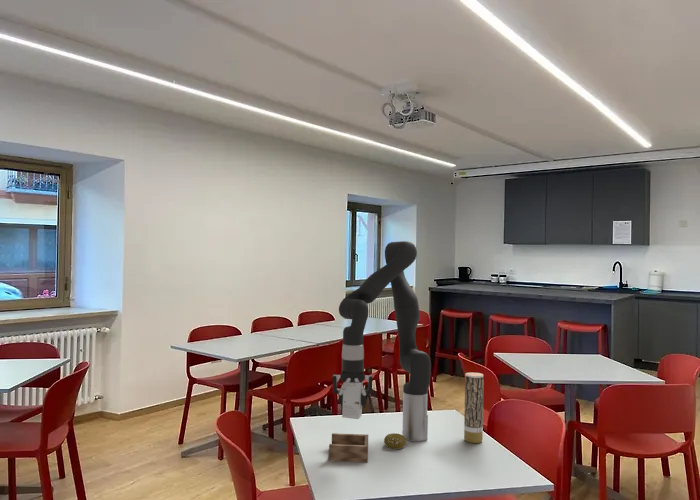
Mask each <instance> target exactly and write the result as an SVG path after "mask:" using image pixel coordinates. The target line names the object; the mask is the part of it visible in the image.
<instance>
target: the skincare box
mask: <svg viewBox="0 0 700 500" xmlns="http://www.w3.org/2000/svg"><path fill="white" fill-rule="evenodd" d="M344 383H345V382H342V385H344ZM363 383H364V381H363V382H362V383H356V382H349V384H348V385H347V387H346V389H345V390H343V393H342V394H343V406H342V412H341V413H342V415H341V417H342V418H344V419H345V418H346V419H353V420H359V419H360V418H361V417H362V414H363V413H362V412H363V410H362V409H363V406H362V392H361V385H363ZM363 386H364V385H363Z"/></svg>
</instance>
